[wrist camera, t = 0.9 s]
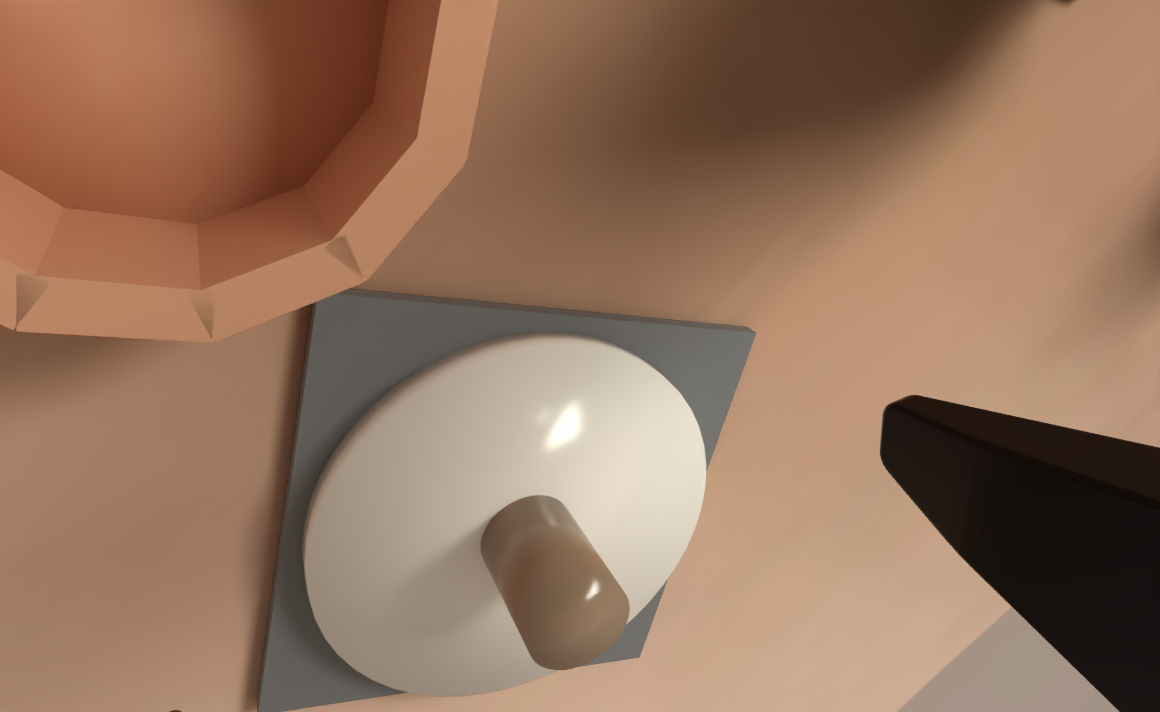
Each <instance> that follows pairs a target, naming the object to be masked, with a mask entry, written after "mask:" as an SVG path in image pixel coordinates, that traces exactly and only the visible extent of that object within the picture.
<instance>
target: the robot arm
mask: <svg viewBox="0 0 1160 712" xmlns="http://www.w3.org/2000/svg"><path fill="white" fill-rule="evenodd" d="M880 456H881V460H882V463H883V465H884V466H885V468H886V470H887V471H888V472H889V473H890V475H891V476H892V477H893V478H894V479H895V481H896V482H897V483H898V484H899V485H900V486H901V488H902V489H903V490H904V491H905V492H906V494H907V495H908V496H909V497H910V498H911V499H912V501H913V502H914V503H915V504H916V505H917V506H918V508H919V509H920V510H921V511H922V512H923V514H924V515H925V516H926V517H927V518H928V519H929V521H930V522H931V523H932V524H933V525H934V527H935V528H936V529H937V530H938V531H939V532H940V534H941V535H942V536H943V537H944V538H945V539H946V541H947V542H948V543H949V544H950V545H951V546H952V547H953V548H954V550H955V551H956V552H957V553H958V554H959V555H960V556H961V557H962V558H963V559H964V560H965V561H966V562H967V563H968V564H969V565H970V566H971V567H972V568H973V569H974V570H975V571H976V572H977V573H978V574H979V575H980V576H981V577H982V578H983V579H984V580H985V581H986V582H987V583H988V584H989V585H990V586H991V587H992V588H993V589H994V590H995V591H996V592H997V593H998V594H999V595H1000V596H1001V597H1002V598H1003V599H1004V600H1005V601H1006V602H1008V603H1009V604H1010V605H1011V606H1012V607H1013V608H1014V609H1015V610H1016V611H1017V612H1018V613H1019V614H1020V615H1021V616H1022V617H1023V618H1024V619H1025V620H1026V621H1027V622H1028V623H1029V624H1030V625H1031V626H1032V627H1033V628H1034V629H1036V631H1037V632H1038V633H1039V634H1041V635H1042V636H1043V637H1044V638H1045V639H1046V640H1047V641H1048V642H1049V643H1050V644H1051V645H1052V646H1053V647H1054V648H1055V649H1056V650H1057V651H1058V652H1059V653H1060V654H1061V655H1062V656H1063V657H1064V658H1065V659H1066V660H1067V661H1068V662H1069V663H1070V664H1071V665H1072V666H1073V667H1074V668H1075V669H1077V671H1079V673H1080V674H1081V675H1083V676H1084V677H1085V678H1086V679H1087V680H1088V681H1089V682H1090V683H1091V684H1092V685H1093V686H1094V687H1095V688H1096V689H1097V690H1098V691H1099V692H1100V693H1101V694H1102V695H1103V696H1104V697H1105V698H1106V699H1107V700H1108V701H1109V702H1110V703H1111V704H1112V705H1113V706H1114V707H1115V708H1116V709H1117V710H1119V712H1160V448H1159V447H1154V446H1149V445H1145V444H1140V443H1136V442H1131V441H1126V440H1122V439H1117V438H1112V437H1108V436H1103V435H1099V434H1094V433H1089V432H1085V431H1080V430H1076V429H1071V428H1066V427H1062V426H1057V425H1052V424H1048V423H1043V422H1039V421H1034V420H1029V419H1025V418H1020V417H1015V416H1011V415H1006V414H1002V413H997V412H992V411H988V410H983V409H979V408H974V407H969V406H965V405H960V404H956V403H951V402H946V401H942V400H937V399H932V398H928V397H923V396H918V395H910V396H907V397H904V398H902V399H900V400H897V401H895V402H892V403H890V404H889V405H887V406H886V408H885V409H884V412H883V418H882V430H881V443H880ZM170 712H181V711H179V710H173V711H170Z"/></svg>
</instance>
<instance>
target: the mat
mask: <svg viewBox="0 0 1160 712" xmlns="http://www.w3.org/2000/svg"><path fill="white" fill-rule="evenodd" d="M536 331H559V332H571V333H578V334H585V335H591V336H594V337H597V338H600V339H604V340H607V341H610V342H613V343H615V344H617V345H619V346H621V347H624V348H626V349H628V350H630V351H632V352H634V353H635V354H636V355H638V356H639V357H641V358H642V359H643V360H645V361H646V362H648V363H649V364H650V365H651V366H653V367H654V368H655V369H656V370H657V371H658V372H659V373H660V374H661V375H663V376H664V377H665V378H666V379H667V380H668V381H669V382H670V383H671V384H672V385H673V386H674V387H675V388H676V389H677V390H678V391H679V392H680V394H681V395H682V396H683V398H684V399H685V401H686V402H687V404H688V405H689V407H690V408H691V410H692V412H693V414H694V416H695V419H696V421H697V423H698V425H699V428H700V432H701V435H702V439H703V443H704V448H705V458H706V471H707V468H708V465H709V463H710V460H711V457H712V454H713V452H714V449H715V446H716V443H717V440H718V438H719V435H720V432H721V429H722V427H723V424H724V421H725V418H726V415H727V413H728V410H729V407H730V404H731V402H732V399H733V396H734V393H735V390H736V388H737V385H738V382H739V379H740V377H741V374H742V371H743V368H744V365H745V363H746V360H747V357H748V354H749V352H750V349H751V346H752V343H753V340H754V338H755V335H756V333H755V332H754V331H752V330H751V329H750V328H748V327H742V326H732V325H721V324H711V323H701V322H690V321H680V320H669V319H659V318H649V317H638V316H628V315H618V314H607V313H597V312H587V311H576V310H566V309H555V308H545V307H535V306H524V305H514V304H504V303H493V302H483V301H473V300H462V299H452V298H442V297H431V296H421V295H410V294H400V293H390V292H379V291H369V290H359V289H347V290H344V291H342V292H339V293H337V294H334V295H332V296H329V297H327V298H324V299H322V300H319V301H317V302H314V303H313V305H312V312H311V319H310V326H309V333H308V340H307V347H306V354H305V361H304V369H303V376H302V383H301V390H300V397H299V404H298V411H297V418H296V426H295V433H294V440H293V447H292V454H291V461H290V468H289V475H288V483H287V490H286V497H285V504H284V511H283V518H282V525H281V532H280V540H279V547H278V554H277V561H276V568H275V575H274V582H273V589H272V597H271V604H270V611H269V618H268V625H267V632H266V639H265V646H264V653H263V661H262V668H261V675H260V682H259V689H258V696H257V711H258V712H281V711H288V710H295V709H301V708H308V707H314V706H321V705H328V704H334V703H341V702H348V701H354V700H361V699H367V698H374V697H381V696H387V695H394V694H401V693H407V692H405V691H401V690H397V689H393V688H390V687H388V686H385V685H383V684H381V683H378V682H376V681H373V680H371V679H370V678H368V677H366V676H365V675H363V674H361V673H360V672H358V671H356V670H355V669H354V668H352V667H351V666H350V665H349V664H348V663H347V662H345V661H344V660H343V659H342V658H341V657H340V656H339V655H338V654H337V653H336V652H335V650H334V649H333V648H332V647H331V645H330V644H329V643H328V642H327V640H326V639H325V637H324V636H323V634H322V632H321V630H320V628H319V626H318V624H317V622H316V620H315V617H314V614H313V611H312V607H311V604H310V600H309V597H308V592H307V587H306V582H305V577H304V569H303V559H302V540H303V527H304V522H305V518H306V514H307V509H308V505H309V501H310V499H311V496H312V494H313V491H314V489H315V486H316V484H317V481H318V478H319V476H320V474H321V472H322V471H323V469H324V467H325V465H326V464H327V462H328V460H329V458H330V457H331V455H332V453H333V451H334V450H335V448H336V447H337V446H338V444H339V443H340V442H341V440H342V439H343V438H344V436H345V435H346V434H347V432H348V431H349V430H350V428H351V427H352V426H353V425H354V424H355V423H356V422H357V421H358V420H359V419H360V417H361V416H362V415H363V414H364V413H365V412H366V411H367V410H368V409H369V408H370V407H371V406H372V405H373V404H374V403H375V402H376V401H378V400H379V399H380V398H381V397H382V396H384V395H385V394H386V393H387V392H388V391H390V390H391V389H392V388H393V387H395V386H396V385H397V384H398V383H400V382H401V381H403V380H404V379H406V378H407V377H409V376H410V375H412V374H414V373H415V372H417V371H418V370H420V369H421V368H423V367H424V366H426V365H428V364H430V363H432V362H434V361H436V360H438V359H440V358H442V357H444V356H446V355H448V354H450V353H452V352H454V351H457V350H460V349H462V348H465V347H468V346H471V345H473V344H476V343H479V342H481V341H485V340H490V339H494V338H498V337H502V336H506V335H510V334H519V333H528V332H536ZM666 582H667V580H666ZM666 582H665V583H664V585H663V586H662V587H661V588H660V589H659V591H658V592H657V593H656V594H655V596H654V597H653V598H652V599H651V600H650V602H649V603H648V604H647V605H646V606H645V607H644V608H643V609H642V610H641V611H640V612H639V613H638V614H637V615H636V616H635V617H634V618H633V619H632V620H631V621H630V622H629V623H627V624H626V626H625V628H624V630H623V631H622V633H621V634H620V636H619V637H618V639H617V640H616V641H615V642H614V643H613V644H612V645H611V646H610V648H608V649H607V650H606V651H605V652H604V653H602V654H601V655H600V656H598V657H597V658H595V659H594V660H592V661H590V662H588V663H586V664H584V665H581V666H586V665H593V664H599V663H606V662H613V661H619V660H626V659H633V658H639V657H640V654H641V652H642V649H643V646H644V643H645V640H646V638H647V635H648V632H649V629H650V627H651V624H652V621H653V618H654V615H655V613H656V610H657V607H658V604H659V602H660V599H661V596H662V593H663V590H664V588H665V585H666ZM578 667H580V666H578Z"/></svg>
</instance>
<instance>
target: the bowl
mask: <svg viewBox="0 0 1160 712" xmlns="http://www.w3.org/2000/svg"><path fill="white" fill-rule="evenodd" d="M498 2H499V0H0V324H1V325H3V326H5V327H7V328H9V329H11V330H14V329H15V328H16V331H18V332H35V333H52V334H69V335H85V336H102V337H119V338H136V339H153V340H170V341H187V342H204V343H211V340H213V342H216V341H219V340H221V339H224V338H226V337H229V336H231V335H234V334H236V333H239V332H241V331H244V330H246V329H249V328H251V327H254V326H256V325H259V324H261V323H264V322H266V321H269V320H271V319H274V318H276V317H279V316H281V315H284V314H287V313H289V312H292V311H294V310H297V309H299V308H302V307H304V306H307V305H309V304H312V303H314V302H317V301H319V300H322V299H324V298H327V297H329V296H332V295H334V294H337V293H339V292H342V291H344V290H347V289H349V288H352V287H354V286H357V285H359V284H362V283H364V282H365V280H364V279H366V280H368V279H369V278H370V277H371V276H372V274H373V273H374V272H375V271H376V270H377V268H378V267H379V266H380V265H381V264H382V262H383V261H384V260H385V259H386V258H387V257H388V255H389V254H390V253H391V252H392V251H393V249H394V248H395V247H396V246H397V245H398V243H399V242H400V241H401V240H402V239H403V237H404V236H405V235H406V234H407V233H408V231H409V230H410V229H411V228H412V227H413V226H414V224H415V223H416V222H417V221H418V220H419V218H420V217H421V216H422V215H423V214H424V212H425V211H426V210H427V209H428V208H429V206H430V205H431V204H432V203H433V202H434V200H435V199H436V198H437V197H438V196H439V195H440V193H441V192H442V191H443V190H444V189H445V187H446V186H447V185H448V184H449V183H450V181H451V180H452V179H453V178H454V177H455V175H456V174H457V173H458V172H459V171H460V170H461V168H462V167H463V166H464V165H465V163H464V162H463V161H467V156H468V151H469V146H470V141H471V136H472V131H473V126H474V121H475V116H476V111H477V106H478V101H479V96H480V92H481V87H482V82H483V77H484V72H485V67H486V62H487V57H488V52H489V47H490V42H491V37H492V32H493V27H494V22H495V17H496V12H497V7H498Z"/></svg>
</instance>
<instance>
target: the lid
mask: <svg viewBox="0 0 1160 712" xmlns="http://www.w3.org/2000/svg"><path fill="white" fill-rule="evenodd" d="M705 486H706V458H705V448H704V443H703V439H702V435H701V432H700V428H699V425H698V423H697V421H696V419H695V416H694V414H693V412H692V410H691V408H690V407H689V405H688V404H687V402H686V401H685V399H684V398H683V396H682V395H681V394H680V392H679V391H678V390H677V389H676V388H675V387H674V386H673V385H672V384H671V383H670V382H669V381H668V380H667V379H666V378H665V377H664V376H663V375H661V374H660V373H659V372H658V371H657V370H656V369H655V368H654V367H653V366H651V365H650V364H649V363H648V362H646V361H645V360H643V359H642V358H641V357H639V356H638V355H636V354H635V353H634V352H632V351H630V350H628V349H626V348H624V347H621V346H619V345H617V344H615V343H613V342H610V341H607V340H604V339H600V338H597V337H594V336H591V335H585V334H578V333H571V332H559V331H536V332H528V333H519V334H510V335H506V336H502V337H498V338H494V339H490V340H485V341H481V342H479V343H476V344H473V345H471V346H468V347H465V348H462V349H460V350H457V351H454V352H452V353H450V354H448V355H446V356H444V357H442V358H440V359H438V360H436V361H434V362H432V363H430V364H428V365H426V366H424V367H423V368H421V369H420V370H418V371H417V372H415V373H414V374H412V375H410V376H409V377H407V378H406V379H404V380H403V381H401V382H400V383H398V384H397V385H396V386H395V387H393V388H392V389H391V390H390V391H388V392H387V393H386V394H385V395H384V396H382V397H381V398H380V399H379V400H378V401H376V402H375V403H374V404H373V405H372V406H371V407H370V408H369V409H368V410H367V411H366V412H365V413H364V414H363V415H362V416H361V417H360V419H359V420H358V421H357V422H356V423H355V424H354V425H353V426H352V427H351V428H350V430H349V431H348V432H347V434H346V435H345V436H344V438H343V439H342V440H341V442H340V443H339V444H338V446H337V447H336V448H335V450H334V451H333V453H332V455H331V457H330V458H329V460H328V462H327V464H326V465H325V467H324V469H323V471H322V472H321V474H320V476H319V478H318V481H317V484H316V486H315V489H314V491H313V494H312V496H311V499H310V501H309V505H308V509H307V514H306V518H305V522H304V527H303V540H302V559H303V569H304V577H305V582H306V587H307V592H308V597H309V600H310V604H311V607H312V611H313V614H314V617H315V620H316V622H317V624H318V626H319V628H320V630H321V632H322V634H323V636H324V637H325V639H326V640H327V642H328V643H329V644H330V645H331V647H332V648H333V649H334V650H335V652H336V653H337V654H338V655H339V656H340V657H341V658H342V659H343V660H344V661H345V662H347V663H348V664H349V665H350V666H351V667H352V668H354V669H355V670H356V671H358V672H360V673H361V674H363V675H365V676H366V677H368V678H370V679H371V680H373V681H376V682H378V683H381V684H383V685H385V686H388V687H390V688H393V689H397V690H401V691H405V692H409V693H413V694H420V695H429V696H468V695H478V694H485V693H490V692H495V691H500V690H504V689H508V688H512V687H515V686H518V685H521V684H525V683H528V682H531V681H533V680H536V679H538V678H541V677H543V676H546V675H548V674H551V673H553V672H555V671H557V670H567V669H572V668H575V667H578V666H581V665H584V664H586V663H588V662H590V661H592V660H594V659H595V658H597V657H598V656H600V655H601V654H602V653H604V652H605V651H606V650H607V649H608V648H610V646H611V645H612V644H613V643H614V642H615V641H616V640H617V639H618V637H619V636H620V634H621V633H622V631H623V630H624V628H625V626H626V624H627V623H629V622H630V621H631V620H632V619H633V618H634V617H635V616H636V615H637V614H638V613H639V612H640V611H641V610H642V609H643V608H644V607H645V606H646V605H647V604H648V603H649V602H650V600H651V599H652V598H653V597H654V596H655V594H656V593H657V592H658V591H659V589H660V588H661V587H662V586H663V585H664V583H665V582H666V580H667V579H668V577H669V576H670V574H671V573H672V572H673V570H674V569H675V567H676V566H677V564H678V562H679V560H680V558H681V557H682V555H683V553H684V551H685V549H686V548H687V546H688V543H689V541H690V539H691V536H692V534H693V532H694V529H695V527H696V524H697V521H698V517H699V514H700V511H701V507H702V503H703V497H704V491H705Z"/></svg>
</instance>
